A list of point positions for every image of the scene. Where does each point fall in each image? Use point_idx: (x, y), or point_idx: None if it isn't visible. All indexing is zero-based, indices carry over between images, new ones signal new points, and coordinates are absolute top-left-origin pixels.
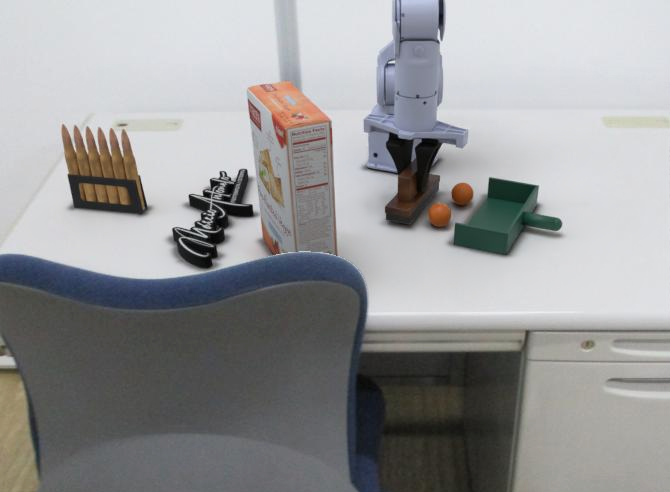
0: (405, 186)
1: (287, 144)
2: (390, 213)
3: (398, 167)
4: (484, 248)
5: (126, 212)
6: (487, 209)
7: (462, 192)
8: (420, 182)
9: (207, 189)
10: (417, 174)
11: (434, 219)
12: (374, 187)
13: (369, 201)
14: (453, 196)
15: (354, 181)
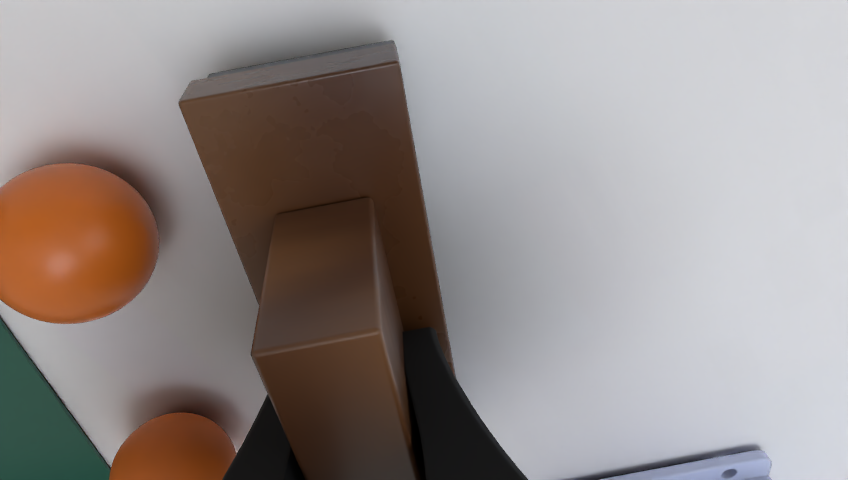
0: (298, 286)
1: None
2: (346, 52)
3: (465, 441)
4: None
5: None
6: (42, 447)
7: (133, 476)
8: (271, 402)
9: None
10: (288, 447)
11: (43, 174)
12: (661, 343)
13: (626, 219)
14: (191, 438)
15: (780, 338)
